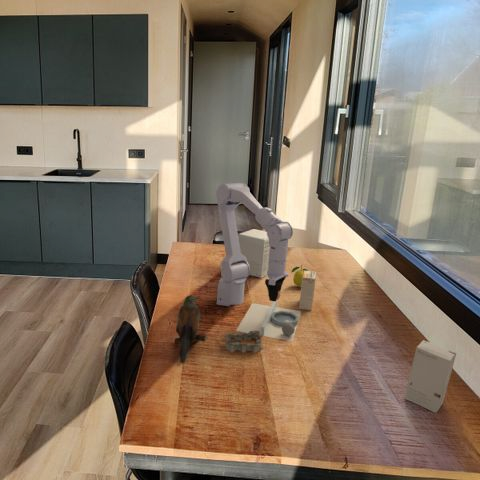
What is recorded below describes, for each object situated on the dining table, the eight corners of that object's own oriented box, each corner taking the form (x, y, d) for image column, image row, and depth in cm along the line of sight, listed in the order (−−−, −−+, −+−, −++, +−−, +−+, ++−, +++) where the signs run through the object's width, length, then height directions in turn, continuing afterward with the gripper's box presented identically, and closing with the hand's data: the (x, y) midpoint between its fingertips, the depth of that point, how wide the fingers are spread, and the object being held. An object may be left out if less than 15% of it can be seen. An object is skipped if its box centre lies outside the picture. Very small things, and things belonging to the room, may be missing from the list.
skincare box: (403, 399, 109) (413, 346, 105) (411, 389, 113) (421, 338, 109) (438, 414, 104) (450, 360, 100) (445, 403, 108) (457, 350, 104)
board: (235, 333, 136) (235, 330, 136) (252, 305, 158) (252, 303, 157) (292, 344, 132) (292, 341, 132) (301, 313, 154) (301, 311, 153)
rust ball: (266, 301, 141) (267, 289, 140) (269, 297, 145) (270, 285, 144) (278, 303, 140) (279, 291, 139) (280, 298, 144) (281, 287, 143)
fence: (260, 335, 134) (261, 326, 133) (273, 306, 156) (274, 299, 155) (263, 336, 134) (264, 327, 133) (276, 307, 155) (277, 299, 155)
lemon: (289, 288, 177) (291, 265, 174) (293, 283, 182) (295, 261, 179) (305, 291, 175) (307, 268, 172) (308, 286, 180) (311, 264, 177)
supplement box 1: (275, 270, 196) (279, 233, 192) (261, 278, 186) (264, 239, 181) (251, 264, 203) (253, 228, 198) (235, 271, 192) (238, 233, 188)
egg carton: (260, 342, 133) (261, 330, 131) (260, 355, 125) (262, 342, 124) (225, 340, 132) (226, 328, 131) (224, 352, 125) (225, 340, 124)
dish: (268, 324, 142) (269, 320, 141) (273, 313, 150) (274, 309, 150) (296, 329, 140) (296, 324, 139) (299, 317, 148) (299, 313, 148)
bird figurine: (203, 364, 117) (208, 291, 122) (166, 362, 117) (174, 289, 122) (207, 364, 130) (212, 297, 135) (174, 362, 130) (180, 296, 135)
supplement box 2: (311, 313, 155) (315, 278, 151) (298, 311, 156) (302, 277, 152) (312, 304, 163) (316, 271, 159) (300, 302, 164) (303, 269, 160)
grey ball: (280, 336, 134) (281, 325, 133) (282, 331, 138) (283, 319, 137) (293, 339, 133) (294, 327, 132) (294, 333, 137) (296, 321, 136)
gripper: (286, 267, 131) (282, 308, 135) (293, 254, 145) (289, 292, 148) (263, 264, 133) (260, 305, 137) (272, 252, 147) (269, 289, 150)
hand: (274, 298), depth 143 cm, fingers closed on rust ball, 4 cm apart
